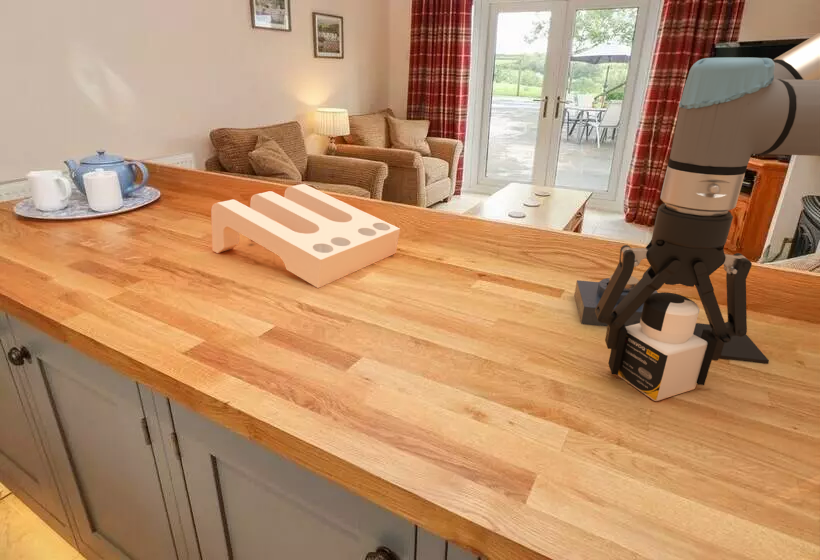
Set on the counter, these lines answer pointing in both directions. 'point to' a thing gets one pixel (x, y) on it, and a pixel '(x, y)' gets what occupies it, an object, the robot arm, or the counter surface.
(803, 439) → the counter surface
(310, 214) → the bracket
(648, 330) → the medicine bottle
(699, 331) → the mat
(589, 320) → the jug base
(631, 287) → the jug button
